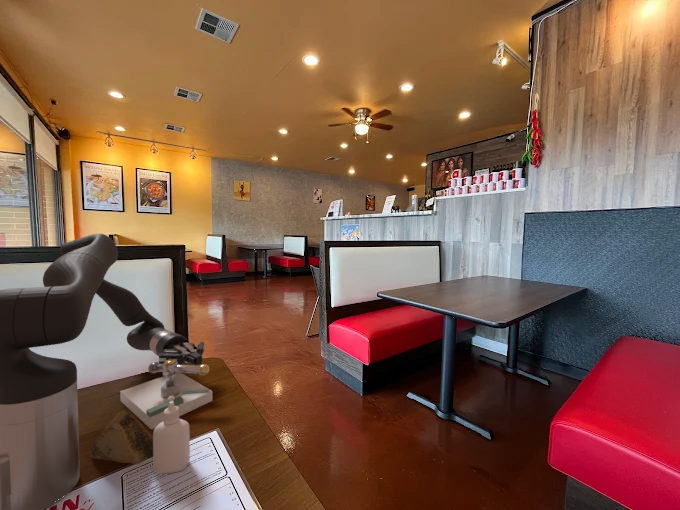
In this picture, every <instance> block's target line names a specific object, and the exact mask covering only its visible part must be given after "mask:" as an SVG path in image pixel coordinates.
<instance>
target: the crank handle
mask: <svg viewBox="0 0 680 510" xmlns="http://www.w3.org/2000/svg"><path fill="white" fill-rule="evenodd" d="M147 369H148V370H147V371H148V372H149V373H150V374H156V373H162V377H163V376H166V387H171V386H173V385H175V374H176V373H182V374H199V376H206V375H207V374H209V372H210V366H209V365H208V364H206V363H204V364H203V363H201V364H200V365H194V364H189V365H188V364H178V362H177V361H176V360H175V359H170V360H166V361H165V362H164V364H159V361H158V362H157V361H154V362H151V363H150V364H149V366H148V368H147Z"/></svg>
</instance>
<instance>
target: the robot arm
mask: <svg viewBox="0 0 680 510" xmlns="http://www.w3.org/2000/svg"><path fill="white" fill-rule="evenodd" d="M59 251H60V252H59V253H60V255H61V256H59V257H58V258H57V259H55V260H54V261H53V262H52V263H51V264H49V266H48V267H47V268H46V269H45V271H44V274H43V277H42V284H43V286H37V287H36V286H35V287H20V288H19V287H17V288H5V289H0V510H45V509H47V508H49V507H50V506H53V505H54V504H55V503H54V502H55V501H57V500H58V499H60V498H62V497H63V496H64V497H65V496H67V495H68V494H69V493H70V492H71V491H73V489H74V488H75V487H76V485H77V483H78V482H79V481H80V470H81V469H80V468H81V465H80V440H79V439H80V438H79V433H80V432H79V407H78V406H79V404H78V401H79V400H78V368H77V365H76V363H75V362H74V361H72V360H69V359H64V358H57V357H51V356H46V355H42V354H39V353H37V352H34V351H32V350H31V348H41V347H47V346H54V345H61V344H65V343H68V342H71V341H74V340H76V339H77V338H79V336H80V335H81V334H82V332H83V330H84V329H85V327H86V324H87V321H88V317H89V314H90V312H91V311H90V310H91V308H92V303H93V300H94V298H95V295H97V296H98V297H99V298H101V300H102V301H103V302H104V303H106V305H107V306H108V307H109V309H110V310H111V311H112V312H113V313H114V314H115V316H116V317H117V319H118V320H119V321H120V323H121V324H122V325H124V326H125V327H132V326H133V327H134V326H135V325H138V326H136V327H135V328H133V329H132V330H130V331H129V332H128V333H127V334H126V335H127V336H126V342H127V344H128V345H129V346H130V347H131V348H132V349H135V350H138V351H150V352H153V354H155V355H156V356H158V363H159V364H164V362H165V361H166V360H170V359H175V360H176V361H177V362H178V365H183V363H186V364H190V365H196V366H200V365H202V364H203V354H204V352H205V342H204V341H202V342H199V343H197V344H195V343H193V342H189V340H188V338H187V337H185V336H183V335H181V334H179V333H176V332H174V331H171V330H168V329H166V327H165V326H164V323H163V322H162V321H160V320H159V319H158V318H156V317H155V316H153V315H152V314H150V312H148V310H147V309H146V308H145V306H144V305H143V304H142V302H141V301H140V300H139V298H138V297H137V295H135V293H134V292H132V291H130V290H129V289H127V288H124V287H122V286H120V285H117V284H115V283H112V282H110V281H108V280H106V279H104V278H105V276H106V274H107V273H108V271H109V269H110V268H111V267H112V266H113V265H114V264H116V262H117V261H118V258H119V252H118V247H117V244H116V243H115V242H114V240H113V239H112V238H111V237H110V236H109V235H107V234H104V233H100V232H99V233H93V234H90V235H86V236H83V237H80V238H76V239H73V240H71V241H68V242H65V243H62V244H61V246H60V249H59ZM140 323H141V324H140ZM64 497H63V498H64ZM63 498H62V499H63ZM60 500H61V499H60ZM57 502H58V501H57ZM53 503H54V504H53Z"/></svg>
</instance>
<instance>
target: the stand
mask: <svg viewBox="0 0 680 510" xmlns="http://www.w3.org/2000/svg"><path fill="white" fill-rule="evenodd" d="M119 393H120V395H119V396H120V402H121V403H122V404H123V405H124V406H126V408H127V409H128V410H130V411H131V412H132V414H134V415H135V416H136V417H137V419H139V420H140V421H142V422H143V424H144V425H146V426H147V427H148V429H150V430H154V429H155V428H156V426H157V425H158V424H159V423H161V422H163V421H164V410H165V409H167V408H168V406H169V402H171V401H173V402H174V405H175V406H177V407H179V417H181V416H183V415H185V414H187V413H189V412H191V411H194V410H196V409H199V408H200V407H202V406H204V405H206V404H208V403H210V402H211V403H212V402H213V390H212V389H209V388H208V387H207V386H204V385H203V384H201V383H199V382H198V381H196V380H194V379H193V378H191V377H189V376H187V375H186V374H185V373H176V374H175V385H173V386H171V387H166V376H163V375H162V376H161V377H160V376H159V377H157V378H155V379H152V380H148V381H146V382H143V383H140V384H137V385H134V386H131V387H129V388H126V389H123V390H120V391H119Z"/></svg>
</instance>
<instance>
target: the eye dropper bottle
mask: <svg viewBox="0 0 680 510" xmlns="http://www.w3.org/2000/svg"><path fill="white" fill-rule="evenodd" d="M189 423H190V422H188V421H187V420H185V419H182V418H180V416H179V407H177V406H175V405H174V402H173V401H171V402H169V406H168V408H167V409H165V410H164V421H163V422H161V423H159V424H158V425H157V426H156V428H153V433H152V436H153V456H152V460H153V461H152V462H153V463H152V467H153V471H154V472H156V473H158V474H174V473H177V472H181V471H183V470H185V469H186V468H187V466H188V464H189V462H190V458H191V457H190V456H191V455H190V454H191V453H190V452H191V451H190V450H191V449H190V448H191V446H190V424H189Z"/></svg>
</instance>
